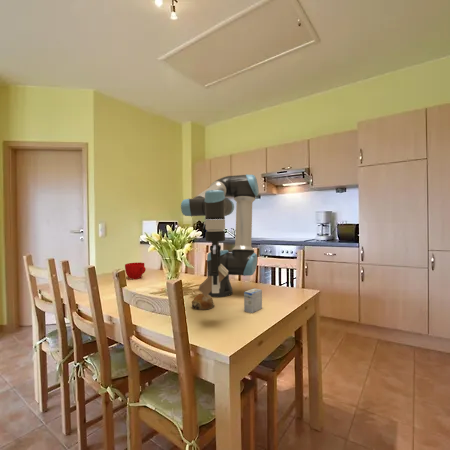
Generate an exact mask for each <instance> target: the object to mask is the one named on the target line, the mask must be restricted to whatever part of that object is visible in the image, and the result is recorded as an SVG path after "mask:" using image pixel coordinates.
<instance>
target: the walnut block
mask: <svg viewBox="0 0 450 450" xmlns="http://www.w3.org/2000/svg"><path fill="white" fill-rule="evenodd" d="M218 273H219V283H220V282H221V281H222V280H223V279H224V278H225V277H226V275H227V274H228V270H227V269H226V268H225V267H224V266H223V265H222V264H220V265H219V267H218ZM197 290H198V291H199V292H200V293H201V294H204V295H205V296H207V295H208V294H209V293H210V292H211V291H212V276H209V277H208V276H207V278H206V279H205V280H204V281H203V282H202V283H201V284H200V285H199V287H198V289H197Z"/></svg>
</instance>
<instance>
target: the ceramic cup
mask: <svg viewBox="0 0 450 450" xmlns="http://www.w3.org/2000/svg"><path fill="white" fill-rule="evenodd" d="M124 269H125V274H126V276H127V277H128V278H129V280H139V279H140V278H141V277H143V274H144V273H145V272H146V269H147V268H146V267H145V262H130V263H126V264H124Z"/></svg>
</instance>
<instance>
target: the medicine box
mask: <svg viewBox="0 0 450 450" xmlns="http://www.w3.org/2000/svg"><path fill="white" fill-rule="evenodd" d="M243 302H244V303H243V306H244V307H243V309H244V312H246V313H249V314H253V313H256V312H258V311H260V310H261V309H262V308H263V289H259V288H252V289H248V290H246V291H244V292H243Z"/></svg>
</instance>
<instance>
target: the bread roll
mask: <svg viewBox="0 0 450 450" xmlns="http://www.w3.org/2000/svg"><path fill="white" fill-rule="evenodd" d="M191 308H193V310H196V311H197V310H198V311H207V310H212V309H214V308H215V305H214V299H213V297H211V296H210V295H207V296H205V295H204V294H203V293H199V294H198V295H196V296H195V297H194V298H193V300H192V301H191Z"/></svg>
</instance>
